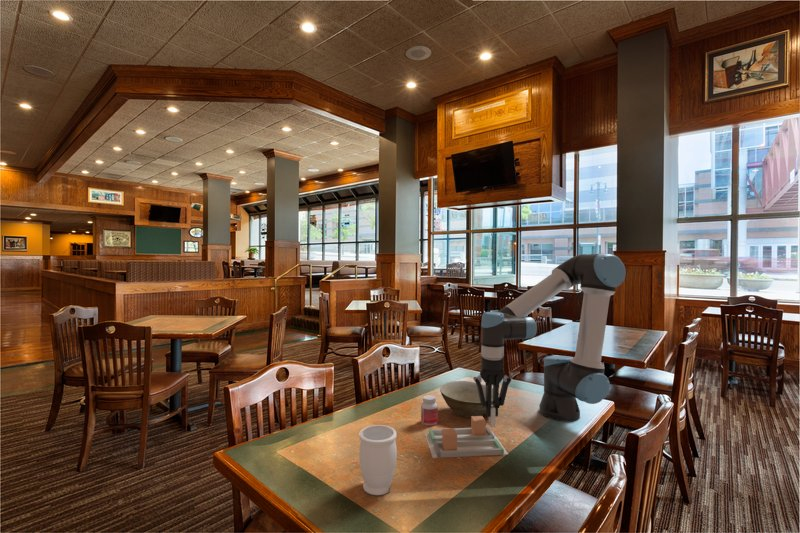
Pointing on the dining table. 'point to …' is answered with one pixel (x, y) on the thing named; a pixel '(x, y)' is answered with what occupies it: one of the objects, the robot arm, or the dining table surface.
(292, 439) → the dining table surface
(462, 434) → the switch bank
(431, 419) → the pill bottle
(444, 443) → the tab
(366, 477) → the jar
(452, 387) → the bowl
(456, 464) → the dining table surface
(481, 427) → the tab
